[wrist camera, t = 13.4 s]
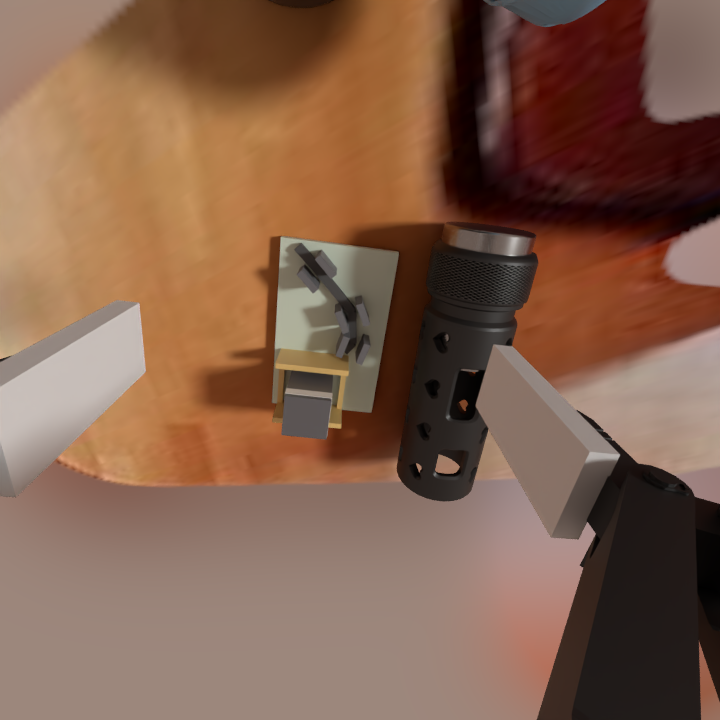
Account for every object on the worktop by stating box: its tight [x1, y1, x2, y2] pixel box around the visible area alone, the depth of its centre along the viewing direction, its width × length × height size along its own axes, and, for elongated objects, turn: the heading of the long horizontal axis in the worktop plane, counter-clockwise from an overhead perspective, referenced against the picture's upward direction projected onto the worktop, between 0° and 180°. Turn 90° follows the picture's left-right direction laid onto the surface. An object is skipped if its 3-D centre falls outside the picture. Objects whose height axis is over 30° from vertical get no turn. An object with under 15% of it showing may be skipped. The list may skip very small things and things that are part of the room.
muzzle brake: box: [397, 222, 538, 501], centre depth 42 cm, size 10×28×10 cm, turn 174°
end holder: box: [272, 348, 349, 429], centre depth 45 cm, size 7×8×4 cm
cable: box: [294, 243, 357, 354], centre depth 42 cm, size 13×3×1 cm, turn 23°
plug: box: [282, 370, 333, 439], centre depth 43 cm, size 5×5×8 cm
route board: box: [272, 236, 399, 413], centre depth 43 cm, size 19×12×4 cm, turn 173°
